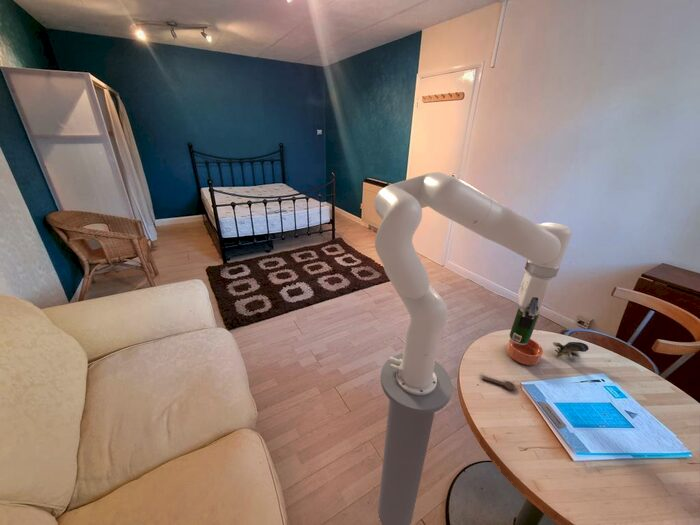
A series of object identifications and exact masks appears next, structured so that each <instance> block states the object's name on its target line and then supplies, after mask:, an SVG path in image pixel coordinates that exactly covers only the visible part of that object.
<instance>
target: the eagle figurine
mask: <svg viewBox="0 0 700 525" xmlns="http://www.w3.org/2000/svg"><path fill="white" fill-rule="evenodd" d="M552 345H553V346H554V347H556V349H557V350H556V349H554V351H555V352H556V353H557V354H556V355H555V356H556V358H558V357H561V356H567V357H568V358H569V359H570V360H571V361H573V355H572V353H573V354H575V355H578V353H577V352H581V353H585V352H587V351H589V350H590V348H589V345H588V344H586V343H584V342H580V341H568V342H567V343H565V344H562V343H561V342H557V341H553V342H552Z"/></svg>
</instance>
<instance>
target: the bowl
mask: <svg viewBox="0 0 700 525" xmlns="http://www.w3.org/2000/svg"><path fill="white" fill-rule="evenodd" d="M506 352H507V355H508V356H509V357H510V358H511V359H512V360H514V361H516V362H517V363H520V364H522V365H526V366H536V365H538V364H539V363H540V361H541V359H542V357H543V354H544V350H543V347H542V346H541V345H540V343H538V342H537V341H535V340H534V339H533V338H530V340H529V342H528V343H527V344H525V345H520V344H517V343H515V342H513V341H512V340H511V339H510V338H509V340H508V343H507V346H506Z"/></svg>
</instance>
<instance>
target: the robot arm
mask: <svg viewBox="0 0 700 525" xmlns="http://www.w3.org/2000/svg"><path fill="white" fill-rule="evenodd" d="M373 203H374V204H373V205H374V209H375V212H376V213H377V215H378V216H379V217H380V219H381V222H380V224H379V226H378V228H377V230H376V235H375V239H374V246H375V251H376V254H377V255H378V257H379V258H378V259H379V260H380V261H381V263H382V265H383V270H384V273H385V275H386V276H387V278H388V280H389V281H390V283H391V284H392V287H393V288H394V289H395V291H396V293H397V294H398V296H399V298H400V300H401V301H402V303H403V304H404V306H405V308H406V310H407V312H408V314H409V317H410V321H409V323H408V324H407V326H406V329H405V334H404V343H403V352H402V354H403V359H400V360H398V359H396V358H393V356H390V357H389V359H388V360H389V363H392V364H391V365H390V368H391V369H395V370H396V380H397V383H398V384H399V386H400V387H401V388H402V389H404V390H405V391H407V392H408V393H411V394H414V395H426V394H429V393H431V392H432V391H433V390H434V389H435V387H436V384H437V378H436V375H435V373H434V372H433V371H434V366H435V361H436V360H437V356H438V349H439V344H440V339H441V334H442V331H443V328H444V326H445V325H446V322H447V319H448V317H449V309H448V307H447V304H446V302H445V301H444V299H443V297H442V296H441V295H440V294H439V293H438V292H437V290H435V289H434V287H433V286H432V285H431V284H430V277H429V273H428V271H427V269H426V267H425V266H424V264H423V262H422V261H421V259H420V256H419V255H418V253H417V251H416V248H415V246H414V243H413V238H414V235H415V233H416V231H417V230H418V228H419V226H420V224H421V221H422V218H423V209H425V208H430V209H431V210H433V211H434V212H436V213H438V214H440V215H441V216H443V217H445V218H447V219H448V220H451V221H452V222H455V223H456V224H458V225H460V226H463V227H464V228H466V229H467V230H470V231H471V232H473V233H475V234H477V235H479V236H481V237H483V238H485V240H486V239H487V240H489V241H491V242H494V243H496V244H498V245H500V246H502V247H503V248H506V249H508V250H509V251H511V252H513V253H515V254H517V255H519V256H521V257H523V258H525V259H526V262H525V265H524V268H523V271H524V275H523V279H522V281H521V284H520V286H519V288H518V295H517V296H518V304H519V305H518V307H519V306H521V307H524V310H523V314H522V315H521V316H520V319H519V322H518V327H521V328H525V329H530V328H531V325H532V322H533V319H534V316H535V312H536V310H537V311H539V310H541V308H542V306H543V304H544V301H545V298H546V295H547V292H548V289H549V285H550V282H551V280H554V279H556V277H557V275H558V272H559V269H560V266H561V264H562V261H563V258H564V256H565V253H566V250H567V248H568V245H569V242H570V240H571V236H572V232H573V231H572V228H570V226H568V225H565V224H561V223H559V222H558V223H557V222H542V223H535V222H533V221H531V220H530V219H529V218H526V217H524V216H523V215H521V214H519V213H517V212H516V211H514V210H512V209H511V208H509V207H508V206H506V205H504V204H503V203H500V201H498V200H496V199H494V198H492V197H491V196H489V195H487V194H485V193H483V192H482V191H481V190H479V189H477V188H476V187H474V186H472V185H470V184H469V183H467V182H465V181H464V180H462V179H460V178H459V177H455V176H453V175H450V174H447V173H444V172H440V171H434V172H430V173H425V174H421V175H417V176H414V177H411V178H408V179H405V180H402V181H398V182H394V183H391V184H389V185H387V186H385V187H382V188H381V189H380V190H379V191H378V192H377V194H376V196H375V198H374V202H373ZM528 305H530V307H528ZM527 309H529V312H526V310H527ZM539 312H540V311H539ZM436 362H437V361H436ZM393 364H396V365H398V366H395V365H393Z"/></svg>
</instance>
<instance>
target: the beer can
mask: <svg viewBox="0 0 700 525" xmlns="http://www.w3.org/2000/svg"><path fill="white" fill-rule="evenodd" d="M528 307H530V305H528ZM523 310H524V307H521V306H519V305H518V308H517V311H516V314H515V317H514V320H513V323H512V326H511V329H510V332H509V340H510V339H511V340H512V341H513V342H515V343H517V344H520V345H525V344H527V343H528V342H529V340H530V339H532V338H531V337H532V336H533V335H532V334H533V332H534V329H535V327H536V325H537V321H538V319H539V316H540V310H541V309H540V310H539V311H537V310H536V312H535V316H534V319H533V322H532V325H531V328H530V329H525V328H521V327H518V322H519V319H520V316H521V315H522V314H523ZM526 312H529V309H527V310H526Z"/></svg>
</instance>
